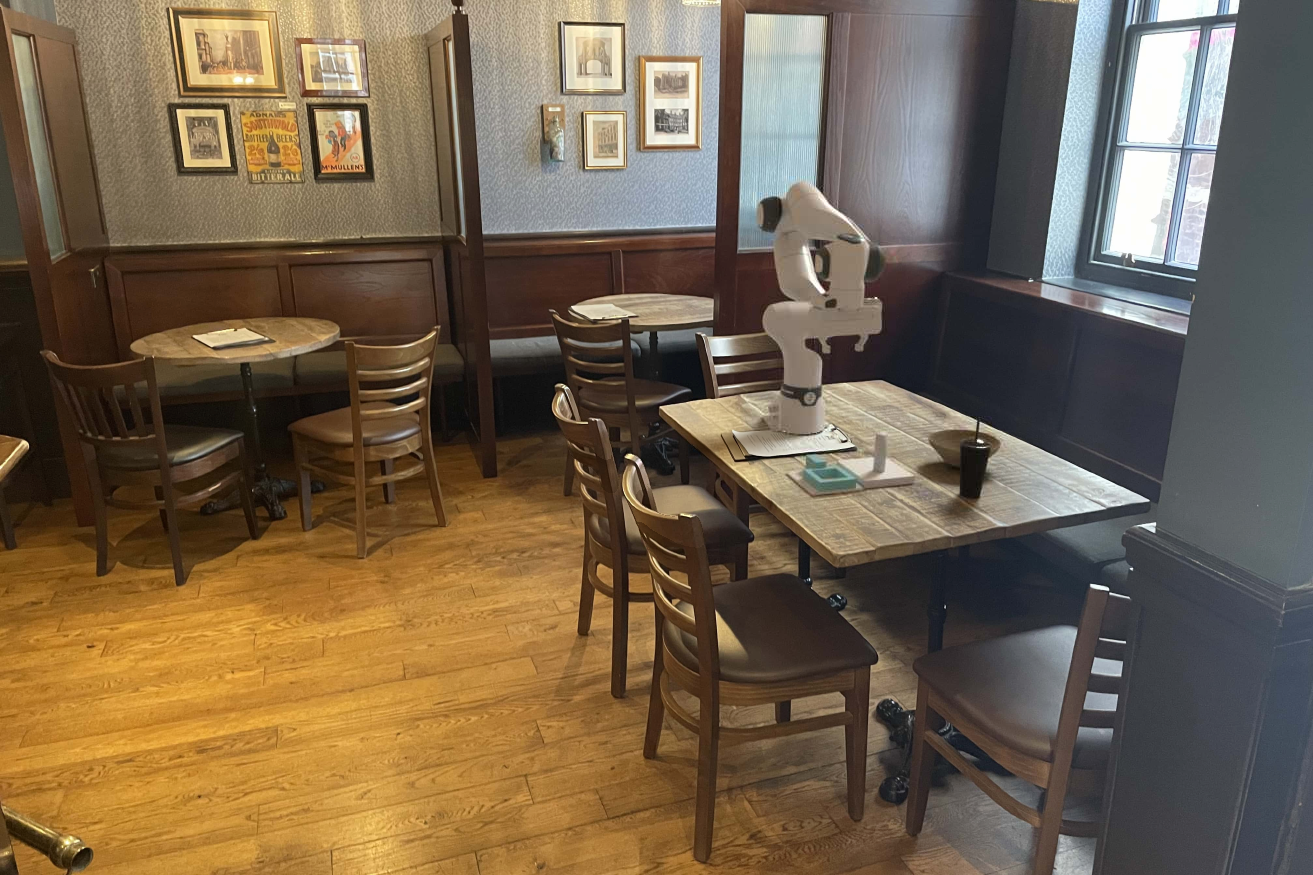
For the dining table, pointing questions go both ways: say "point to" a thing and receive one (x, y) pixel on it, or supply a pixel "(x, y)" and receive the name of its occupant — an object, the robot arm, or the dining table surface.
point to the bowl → (957, 444)
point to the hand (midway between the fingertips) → (842, 351)
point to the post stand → (877, 467)
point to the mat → (799, 479)
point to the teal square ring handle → (826, 475)
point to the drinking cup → (973, 464)
